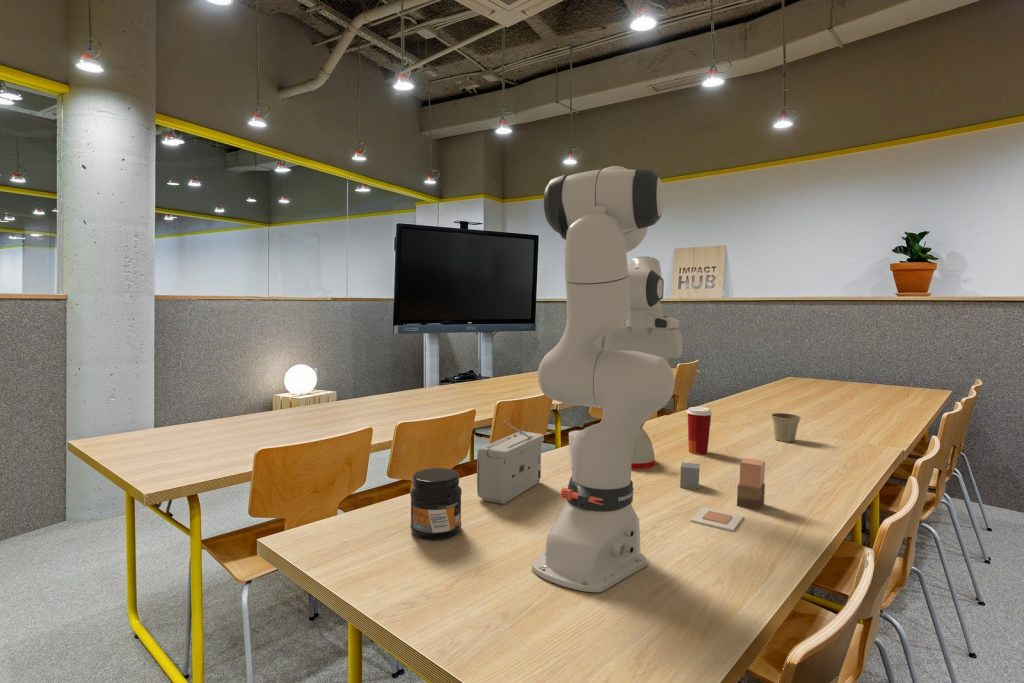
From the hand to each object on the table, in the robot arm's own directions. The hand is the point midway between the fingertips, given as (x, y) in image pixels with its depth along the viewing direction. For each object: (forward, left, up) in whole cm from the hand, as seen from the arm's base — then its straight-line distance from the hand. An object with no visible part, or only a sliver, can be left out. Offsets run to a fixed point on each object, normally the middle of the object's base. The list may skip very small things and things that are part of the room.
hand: (641, 373), depth 146 cm
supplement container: (-55, +22, -29) cm, 66 cm away
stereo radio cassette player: (-26, +23, -29) cm, 46 cm away
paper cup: (+39, -4, -29) cm, 49 cm away
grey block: (+5, -12, -29) cm, 32 cm away
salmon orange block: (0, -28, -24) cm, 37 cm away
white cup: (+2, +18, -29) cm, 34 cm away
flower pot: (+73, -24, -29) cm, 82 cm away
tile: (-14, -24, -29) cm, 40 cm away
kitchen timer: (+16, +9, -29) cm, 35 cm away
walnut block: (0, -28, -29) cm, 40 cm away
